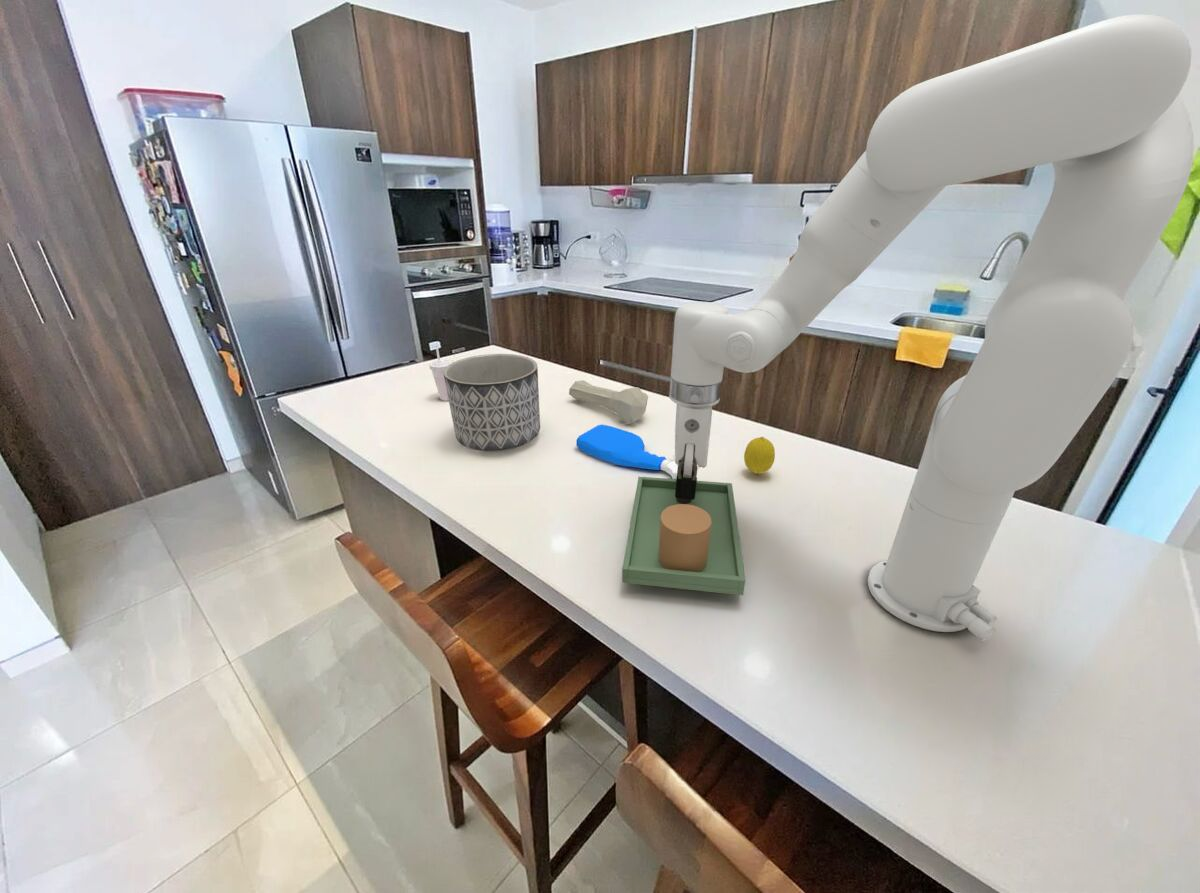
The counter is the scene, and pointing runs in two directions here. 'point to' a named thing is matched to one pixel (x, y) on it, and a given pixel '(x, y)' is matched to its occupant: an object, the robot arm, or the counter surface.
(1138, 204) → the robot arm
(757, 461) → the lemon
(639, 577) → the tray
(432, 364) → the smoothie
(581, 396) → the faceted club
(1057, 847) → the counter surface
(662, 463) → the spray bottle
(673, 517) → the stubby tan cylinder
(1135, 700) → the counter surface
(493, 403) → the planter
